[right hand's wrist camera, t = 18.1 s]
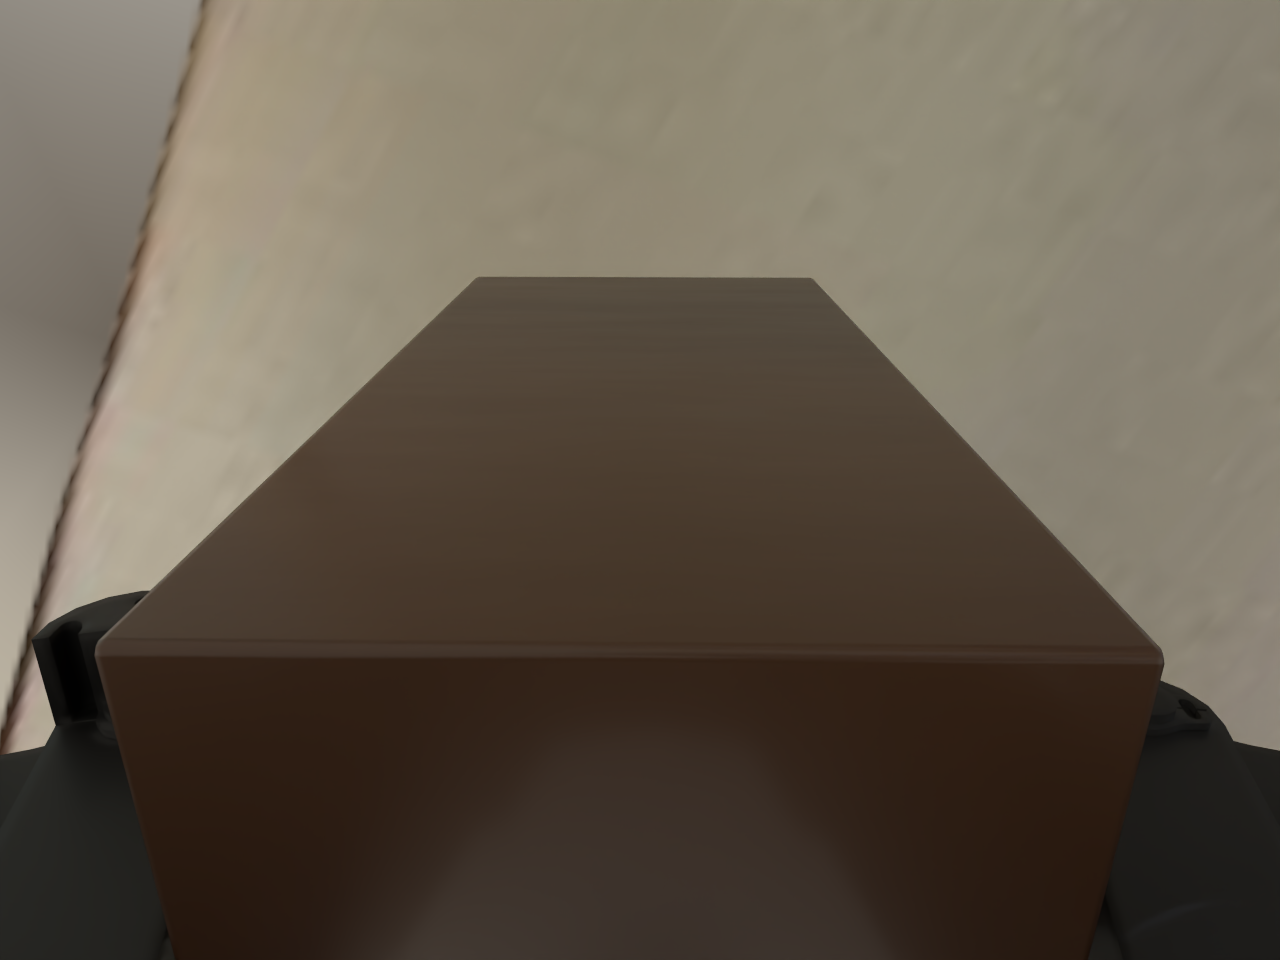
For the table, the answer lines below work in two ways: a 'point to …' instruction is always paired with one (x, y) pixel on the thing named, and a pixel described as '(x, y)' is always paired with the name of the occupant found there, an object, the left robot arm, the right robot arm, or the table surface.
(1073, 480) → the table surface
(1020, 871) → the plank
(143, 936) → the right robot arm
